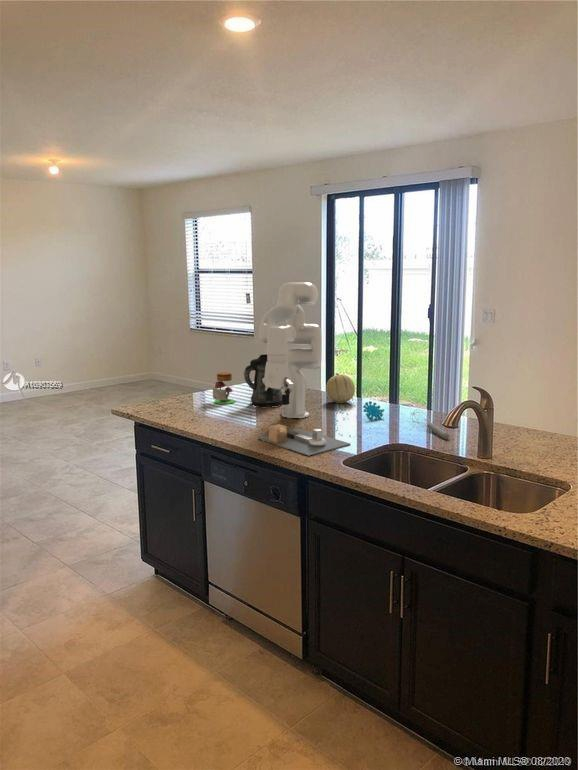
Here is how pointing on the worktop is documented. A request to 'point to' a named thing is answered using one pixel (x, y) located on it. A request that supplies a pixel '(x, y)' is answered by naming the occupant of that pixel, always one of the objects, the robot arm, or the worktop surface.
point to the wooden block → (277, 433)
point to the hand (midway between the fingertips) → (277, 402)
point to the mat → (305, 447)
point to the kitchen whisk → (433, 427)
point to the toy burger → (220, 393)
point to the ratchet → (309, 438)
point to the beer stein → (261, 384)
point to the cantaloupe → (340, 388)
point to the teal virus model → (373, 410)
